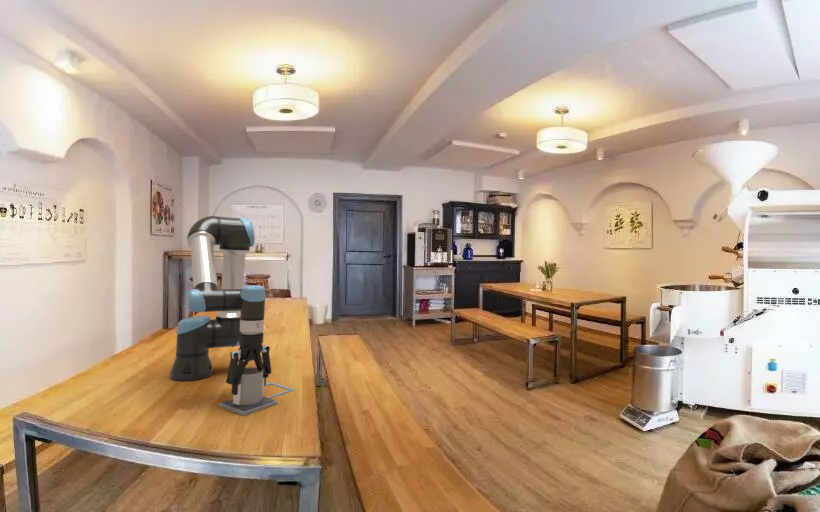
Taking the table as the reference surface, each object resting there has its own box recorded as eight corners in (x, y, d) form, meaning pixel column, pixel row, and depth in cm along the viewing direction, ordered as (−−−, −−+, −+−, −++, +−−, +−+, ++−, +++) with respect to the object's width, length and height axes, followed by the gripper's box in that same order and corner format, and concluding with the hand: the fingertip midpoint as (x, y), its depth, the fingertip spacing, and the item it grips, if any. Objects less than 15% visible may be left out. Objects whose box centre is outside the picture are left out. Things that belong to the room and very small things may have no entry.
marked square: (241, 391, 147) (241, 391, 147) (271, 383, 158) (271, 382, 158) (265, 399, 140) (265, 399, 140) (294, 390, 151) (294, 389, 151)
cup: (252, 406, 130) (253, 375, 130) (229, 403, 132) (230, 373, 132) (266, 398, 138) (267, 368, 138) (245, 395, 140) (246, 366, 140)
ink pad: (218, 406, 133) (218, 402, 133) (252, 395, 144) (252, 391, 144) (243, 415, 126) (243, 411, 126) (277, 403, 137) (277, 400, 137)
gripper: (229, 338, 124) (226, 412, 124) (284, 329, 142) (281, 394, 142) (215, 335, 128) (212, 406, 128) (270, 326, 146) (267, 389, 146)
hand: (248, 399), depth 135 cm, fingers closed on cup, 8 cm apart
